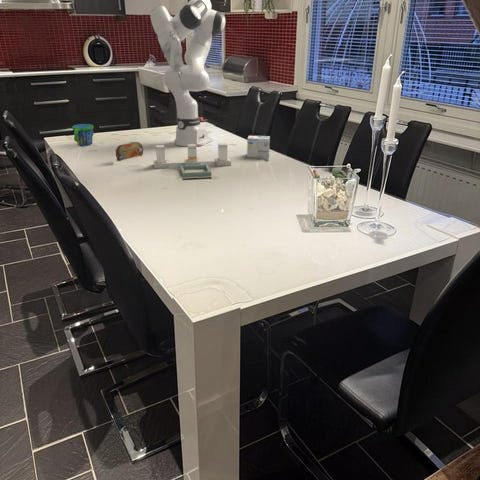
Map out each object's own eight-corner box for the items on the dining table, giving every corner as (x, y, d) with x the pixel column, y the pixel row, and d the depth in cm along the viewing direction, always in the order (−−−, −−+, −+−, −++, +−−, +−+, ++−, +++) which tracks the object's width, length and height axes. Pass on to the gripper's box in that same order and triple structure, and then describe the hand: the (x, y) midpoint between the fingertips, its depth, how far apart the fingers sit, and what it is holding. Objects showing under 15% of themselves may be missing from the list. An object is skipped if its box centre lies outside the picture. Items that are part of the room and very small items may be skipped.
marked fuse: (188, 163, 212) (187, 144, 208) (195, 163, 213) (195, 144, 209) (188, 166, 209) (188, 146, 205) (196, 165, 209) (196, 145, 206)
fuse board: (153, 167, 212) (153, 159, 210) (228, 163, 218) (228, 156, 217) (154, 172, 204) (153, 164, 202) (231, 169, 210) (231, 161, 209)
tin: (119, 164, 216) (118, 146, 212) (115, 163, 217) (113, 145, 214) (144, 158, 227) (142, 140, 223) (139, 157, 228) (138, 139, 225)
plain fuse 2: (218, 162, 214) (218, 143, 211) (226, 162, 215) (226, 143, 211) (219, 164, 211) (219, 145, 208) (227, 164, 212) (227, 144, 208)
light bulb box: (269, 157, 231) (270, 135, 226) (268, 161, 224) (269, 138, 220) (247, 156, 231) (248, 135, 227) (246, 160, 225) (247, 137, 221)
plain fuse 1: (157, 165, 209) (155, 145, 205) (165, 164, 210) (164, 145, 206) (157, 167, 206) (156, 147, 202) (165, 167, 207) (164, 146, 203)
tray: (180, 172, 205) (180, 165, 203) (207, 171, 207) (207, 164, 206) (182, 180, 194) (182, 173, 193) (211, 178, 196) (211, 172, 195)
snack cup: (84, 148, 242) (81, 129, 238) (67, 147, 245) (64, 127, 241) (102, 142, 255) (100, 124, 251) (86, 141, 259) (83, 122, 254)
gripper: (177, 26, 192) (189, 57, 191) (176, 52, 212) (187, 80, 211) (163, 30, 191) (175, 61, 190) (163, 56, 211) (174, 84, 210)
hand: (181, 71), depth 201 cm, fingers open, 8 cm apart
